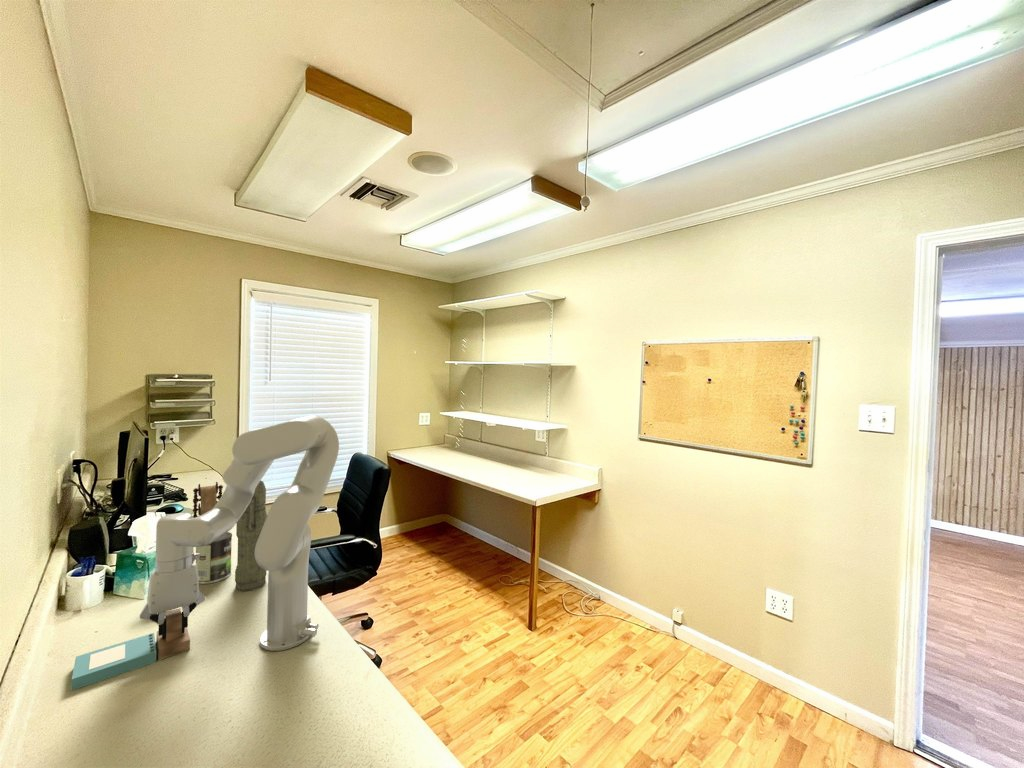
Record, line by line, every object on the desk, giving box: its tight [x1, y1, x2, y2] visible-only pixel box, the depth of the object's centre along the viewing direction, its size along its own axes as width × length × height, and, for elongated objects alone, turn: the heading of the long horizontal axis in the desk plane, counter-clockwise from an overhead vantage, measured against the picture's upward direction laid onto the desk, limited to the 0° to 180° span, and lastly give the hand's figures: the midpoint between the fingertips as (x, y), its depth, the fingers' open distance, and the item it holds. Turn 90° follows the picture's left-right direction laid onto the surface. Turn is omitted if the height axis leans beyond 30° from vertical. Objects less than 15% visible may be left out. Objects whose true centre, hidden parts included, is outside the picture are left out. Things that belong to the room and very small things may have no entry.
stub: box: [155, 607, 191, 661], centre depth 105 cm, size 6×10×8 cm, turn 44°
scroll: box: [192, 481, 224, 518], centre depth 193 cm, size 15×15×20 cm
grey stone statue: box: [234, 480, 268, 592], centre depth 137 cm, size 9×12×35 cm
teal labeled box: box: [71, 632, 157, 691], centre depth 98 cm, size 14×10×3 cm
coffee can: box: [195, 531, 233, 585], centre depth 142 cm, size 10×10×14 cm
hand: (173, 633), depth 105 cm, fingers closed on stub, 3 cm apart
